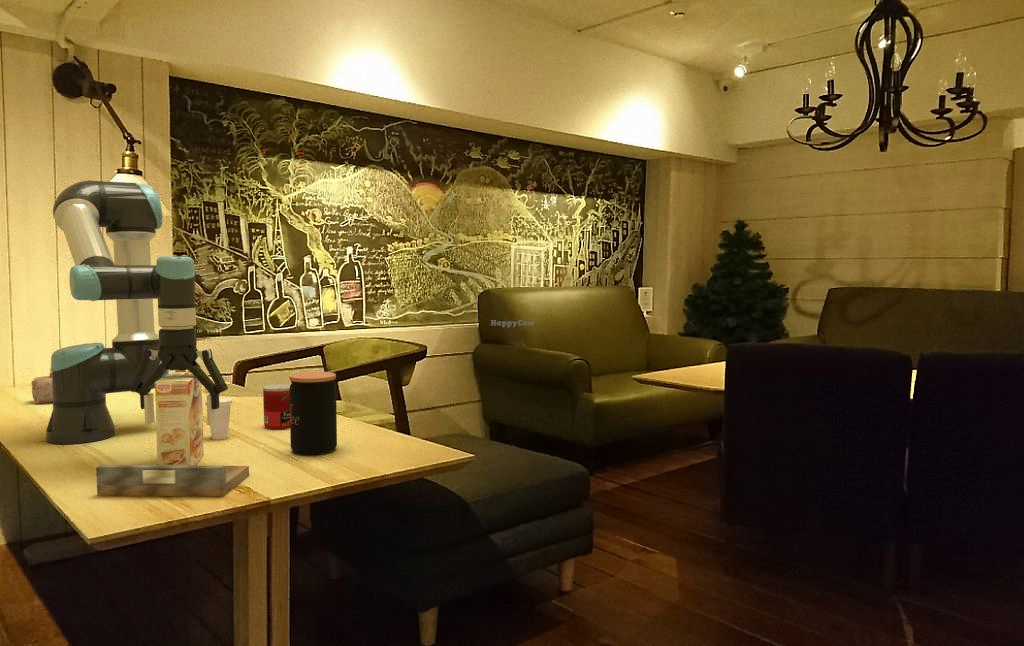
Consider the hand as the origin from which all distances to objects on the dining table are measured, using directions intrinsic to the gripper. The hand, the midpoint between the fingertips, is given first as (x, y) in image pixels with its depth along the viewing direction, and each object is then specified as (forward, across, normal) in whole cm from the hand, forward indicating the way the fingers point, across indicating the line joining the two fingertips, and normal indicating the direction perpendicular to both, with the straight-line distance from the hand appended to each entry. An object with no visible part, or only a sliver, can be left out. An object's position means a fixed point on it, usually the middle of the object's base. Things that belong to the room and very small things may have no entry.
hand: (180, 424), depth 165 cm
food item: (+9, -71, +72) cm, 101 cm away
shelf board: (+9, +6, -16) cm, 19 cm away
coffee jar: (+9, +26, +12) cm, 30 cm away
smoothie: (+9, -1, +24) cm, 26 cm away
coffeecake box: (+9, 0, 0) cm, 9 cm away
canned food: (+9, +10, +37) cm, 39 cm away
